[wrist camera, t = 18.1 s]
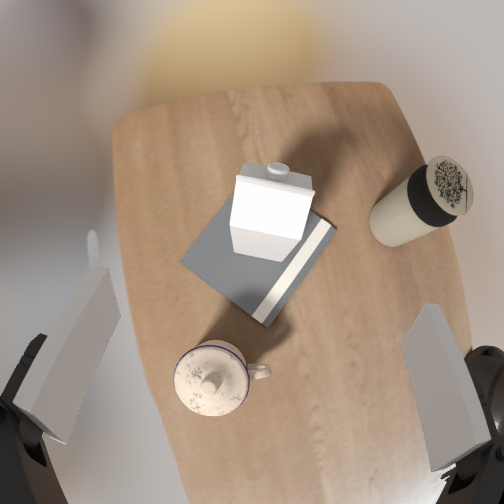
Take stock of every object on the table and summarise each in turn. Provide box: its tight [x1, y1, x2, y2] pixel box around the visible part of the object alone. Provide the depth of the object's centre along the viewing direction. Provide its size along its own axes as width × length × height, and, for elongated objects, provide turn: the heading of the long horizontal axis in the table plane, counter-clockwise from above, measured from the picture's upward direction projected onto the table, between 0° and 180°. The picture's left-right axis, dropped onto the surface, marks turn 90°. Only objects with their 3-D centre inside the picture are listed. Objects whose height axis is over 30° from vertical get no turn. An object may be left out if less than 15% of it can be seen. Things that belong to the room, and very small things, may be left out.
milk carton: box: [230, 162, 315, 262], centre depth 35 cm, size 7×7×19 cm
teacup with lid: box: [174, 340, 271, 416], centre depth 36 cm, size 12×9×12 cm
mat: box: [180, 192, 336, 328], centre depth 45 cm, size 18×16×1 cm
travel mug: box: [369, 156, 473, 247], centre depth 38 cm, size 8×8×18 cm
